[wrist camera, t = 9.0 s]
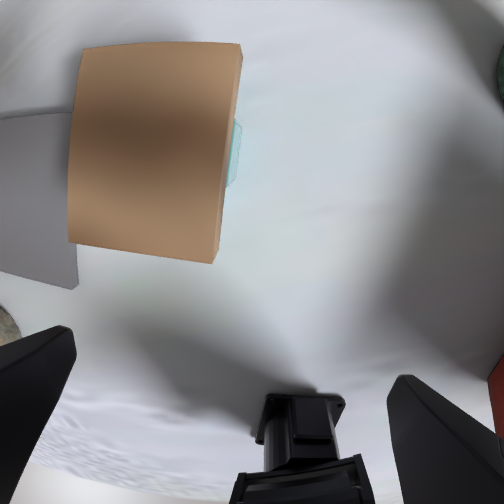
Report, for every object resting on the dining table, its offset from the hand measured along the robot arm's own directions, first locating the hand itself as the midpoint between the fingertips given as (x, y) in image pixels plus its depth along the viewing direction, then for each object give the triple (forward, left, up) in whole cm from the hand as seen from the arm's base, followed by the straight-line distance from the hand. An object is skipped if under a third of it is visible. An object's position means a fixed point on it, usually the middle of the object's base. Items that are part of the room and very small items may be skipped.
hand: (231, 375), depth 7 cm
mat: (+1, +17, -12) cm, 21 cm away
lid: (+5, +5, -8) cm, 11 cm away
